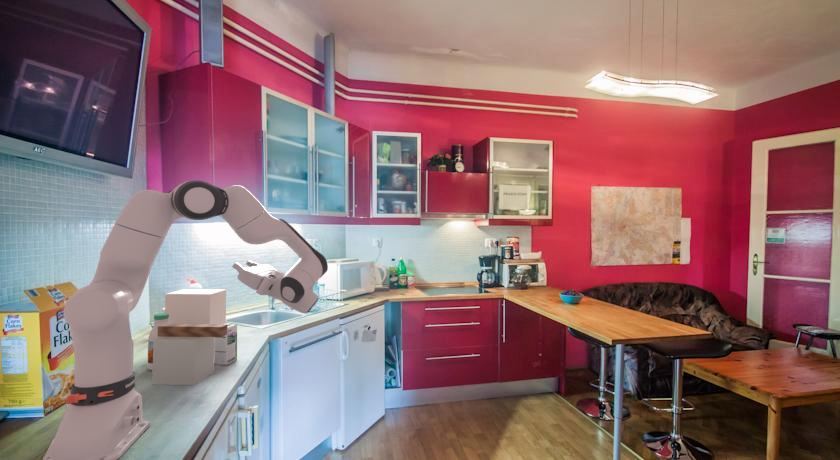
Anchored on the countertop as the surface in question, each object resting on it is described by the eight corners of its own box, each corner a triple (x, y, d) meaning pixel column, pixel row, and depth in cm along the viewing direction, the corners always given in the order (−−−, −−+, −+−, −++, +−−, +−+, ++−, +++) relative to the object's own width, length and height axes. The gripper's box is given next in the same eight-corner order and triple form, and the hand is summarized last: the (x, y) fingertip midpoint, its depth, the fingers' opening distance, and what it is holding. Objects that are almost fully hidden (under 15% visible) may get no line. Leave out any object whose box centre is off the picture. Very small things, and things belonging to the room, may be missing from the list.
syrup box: (226, 365, 134) (227, 327, 134) (213, 364, 135) (214, 326, 135) (237, 360, 140) (237, 323, 140) (224, 358, 141) (225, 323, 141)
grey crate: (213, 371, 128) (214, 331, 128) (194, 385, 117) (195, 340, 117) (174, 371, 127) (175, 330, 127) (152, 384, 116) (153, 339, 116)
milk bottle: (143, 368, 130) (144, 314, 130) (166, 361, 137) (167, 310, 137) (154, 372, 126) (155, 317, 126) (177, 365, 133) (178, 313, 133)
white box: (225, 348, 153) (226, 289, 153) (208, 358, 141) (210, 294, 141) (183, 348, 152) (184, 288, 153) (163, 358, 140) (165, 293, 141)
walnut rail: (227, 334, 124) (227, 324, 124) (221, 337, 121) (221, 327, 121) (164, 333, 124) (164, 323, 124) (157, 336, 120) (157, 326, 120)
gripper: (289, 272, 134) (258, 253, 134) (267, 279, 114) (230, 257, 113) (281, 286, 134) (250, 267, 134) (257, 295, 114) (220, 274, 113)
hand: (241, 263), depth 124 cm, fingers open, 8 cm apart
